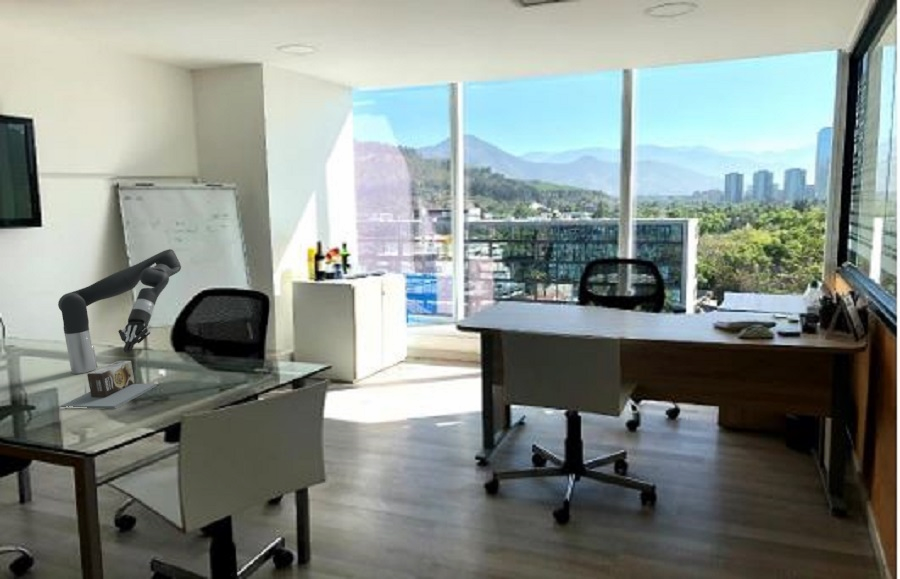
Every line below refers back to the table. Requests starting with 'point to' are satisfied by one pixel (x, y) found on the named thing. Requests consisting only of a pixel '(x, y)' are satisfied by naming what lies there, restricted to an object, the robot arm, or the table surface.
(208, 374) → the table surface
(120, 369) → the coffee box
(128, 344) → the robot arm
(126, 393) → the mat
